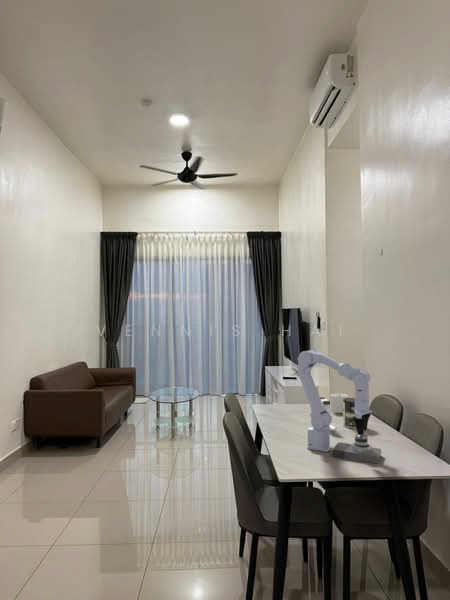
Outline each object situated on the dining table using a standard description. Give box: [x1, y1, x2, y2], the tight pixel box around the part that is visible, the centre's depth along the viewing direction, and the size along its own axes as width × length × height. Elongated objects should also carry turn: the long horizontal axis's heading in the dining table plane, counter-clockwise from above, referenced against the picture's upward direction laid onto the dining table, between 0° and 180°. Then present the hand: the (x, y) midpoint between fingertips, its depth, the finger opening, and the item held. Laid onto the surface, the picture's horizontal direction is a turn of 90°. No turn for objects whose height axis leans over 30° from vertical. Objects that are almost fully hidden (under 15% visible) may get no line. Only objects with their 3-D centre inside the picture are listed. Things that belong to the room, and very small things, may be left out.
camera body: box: [331, 441, 382, 465], centre depth 179 cm, size 18×11×5 cm, turn 62°
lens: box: [354, 433, 369, 447], centre depth 178 cm, size 5×5×6 cm
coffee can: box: [342, 397, 357, 430], centre depth 227 cm, size 10×10×14 cm
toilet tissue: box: [330, 393, 349, 414], centre depth 260 cm, size 11×12×10 cm
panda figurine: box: [319, 396, 336, 431], centre depth 224 cm, size 12×11×15 cm
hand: (362, 432), depth 179 cm, fingers open, 7 cm apart
